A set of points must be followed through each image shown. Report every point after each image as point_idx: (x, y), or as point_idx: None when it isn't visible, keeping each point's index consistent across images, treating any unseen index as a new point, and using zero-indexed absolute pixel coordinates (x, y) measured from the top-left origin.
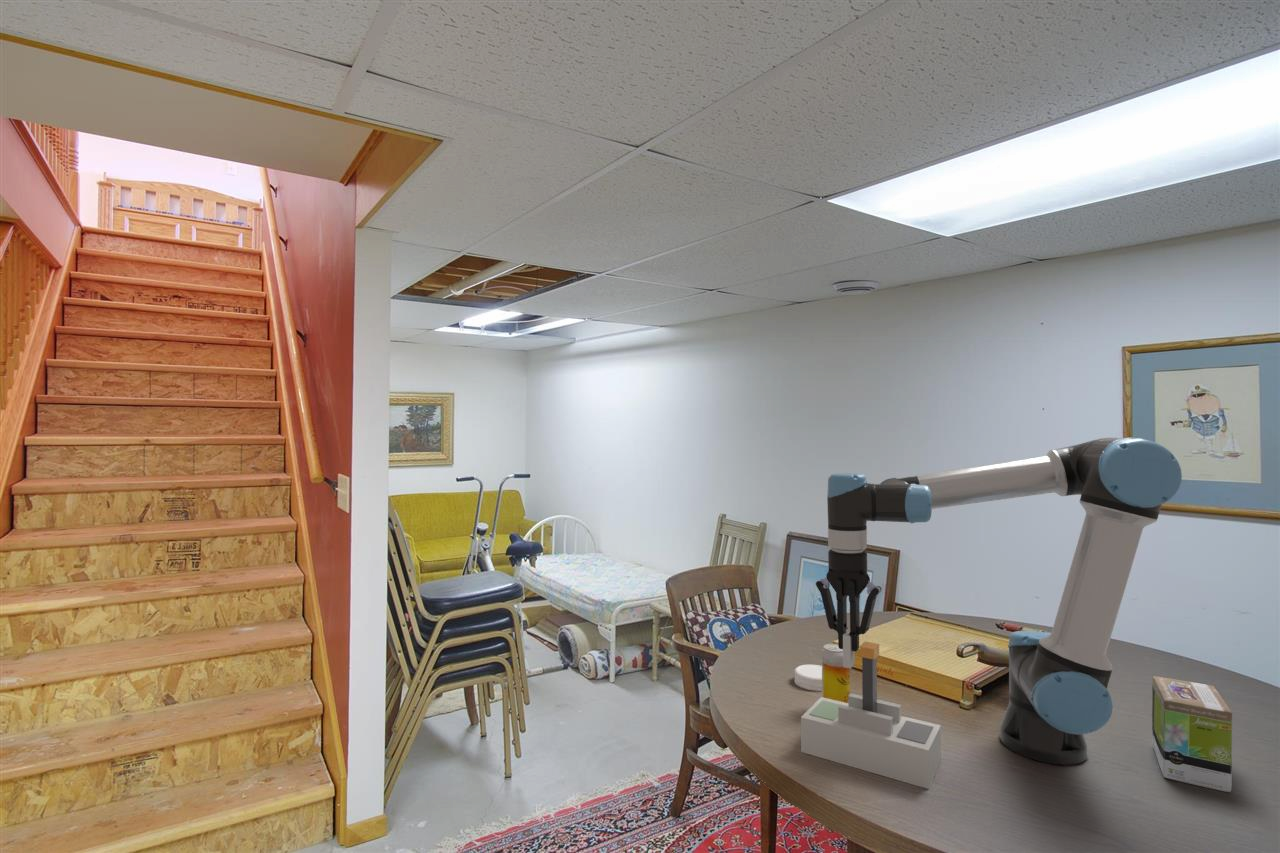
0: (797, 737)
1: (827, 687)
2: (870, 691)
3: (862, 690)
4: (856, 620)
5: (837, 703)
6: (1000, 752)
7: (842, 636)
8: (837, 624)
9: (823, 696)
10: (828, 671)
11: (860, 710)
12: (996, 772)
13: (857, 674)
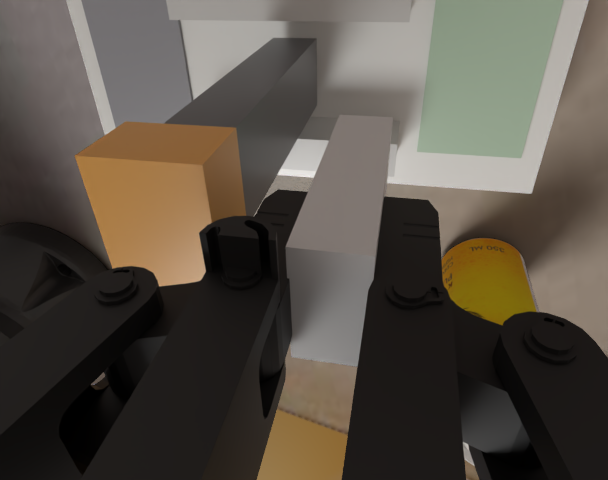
0: (593, 33)
1: (516, 294)
2: (245, 67)
3: (288, 68)
4: (130, 421)
5: (454, 164)
6: (94, 229)
7: (391, 269)
8: (452, 364)
9: (526, 279)
10: None
11: (306, 5)
12: (59, 133)
13: None
